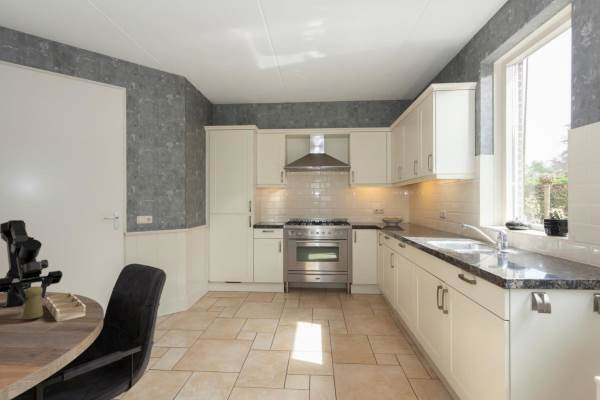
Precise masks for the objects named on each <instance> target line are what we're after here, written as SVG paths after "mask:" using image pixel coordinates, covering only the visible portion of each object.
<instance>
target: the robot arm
mask: <svg viewBox="0 0 600 400" xmlns="http://www.w3.org/2000/svg"><path fill="white" fill-rule="evenodd" d="M26 228H27V227H26V222H25V221H24V220H21V219H13V220H12V219H11V220H8V221H6V222H2V223H0V239H1V240H3V241H4V242H5V243H6V251H7V261H8V270H7V272H6V274H5V277H0V293H3V294H6V303H5V304H4V305H2V308H9V307H18V306H25V302H26V296H25V290H26V289H27V288H30V287H32V284H35V283H41V285H40V287H42V289H43V292H42V294H41V299H45V296H46V292H47V287H51V285H57V284H58V283H60V282H61V280H62V277H63V271H61V270H52V271H48V274H47V275H42V273H43V272H42V271H43V270H44V269H47V268H49V261H48V259H42V260H40V261H37V257H38V256H39V253H40V252H41V248H42V242H41V241H40V240H37V239H35V237H31V236H29V235H28V232H27V230H26ZM41 275H42V276H41Z"/></svg>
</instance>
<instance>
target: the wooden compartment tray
mask: <svg viewBox="0 0 600 400" xmlns="http://www.w3.org/2000/svg"><path fill="white" fill-rule="evenodd" d="M45 307H46V308H47V310H48V311H49V312H50V314H51V315H52V317H53V318H54V320H55V321H56V322H57V323H58V322H63V321H68V320H72V319H77V318H82V317H86V304H84V303H83V301H81V300H80V299H79V298H78V297H77V296H76V295H75V294H74V293H73V292H67V293H61V294H57V295H56V294H55V295H50V296H46V298H45Z"/></svg>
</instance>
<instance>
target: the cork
mask: <svg viewBox="0 0 600 400" xmlns="http://www.w3.org/2000/svg"><path fill="white" fill-rule="evenodd" d="M42 292H43V289H42V287H41V286H31V287H30V288H27V289H26V290H25V296H26V302H25V304H24V305H23V306H24V307H23V313H22V316H21V318H22V319H24V320H32V319H36V318H40V317H42V316H43V315H44V309H43V303H42V295H41V294H42Z"/></svg>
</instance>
